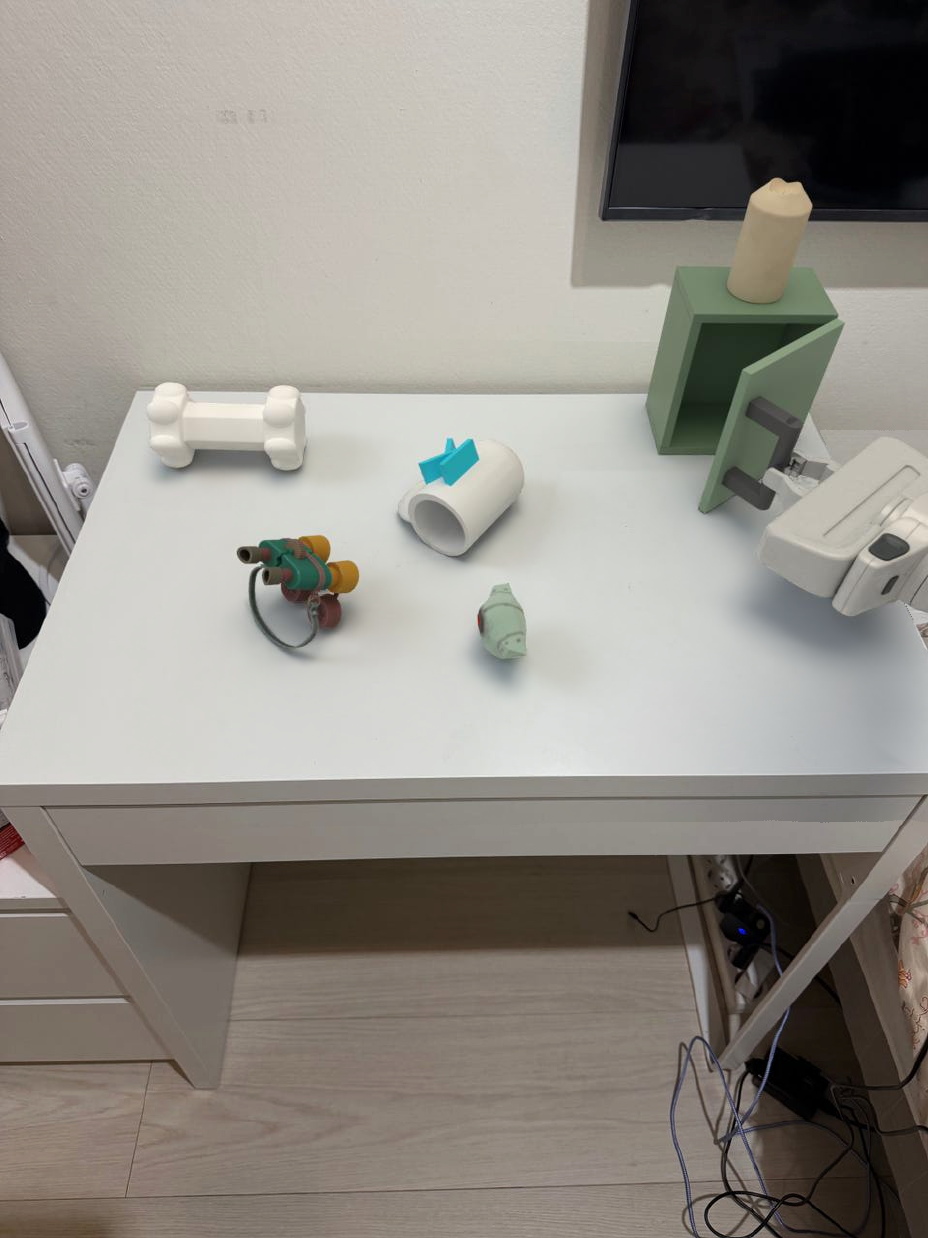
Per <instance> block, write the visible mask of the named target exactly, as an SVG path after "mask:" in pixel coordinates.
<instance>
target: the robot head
mask: <svg viewBox="0 0 928 1238" xmlns="http://www.w3.org/2000/svg"><path fill="white" fill-rule="evenodd" d="M476 616H477V618H476V619H477V627H478V631H479V635H480V638H481V639H480V640H481V641H482V643H483V645H484V648H485V649H486V650H487V651H488V652H489V653H490V654H491V655H492V656H494V657H495V658H497V659H498V660H499V659H500V660H508V659H515V658H519V657H524V656H528V653H527V645H526V641H527V620H526V616H525V612H524V609H523V607H522V606H521V604H520V603H519V602H518V599H516V597H515V595H514V594H513V590H512V588H511V586H510V583H509V582H507V583H501V584H496V585H493V586H492V588H491V591H490V593H489V597H488V598H487V599H486V601H485V602H484V603H483V604H482V605H481V606H480V607H479V610H478V612H477V615H476Z"/></svg>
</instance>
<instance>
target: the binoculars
mask: <svg viewBox="0 0 928 1238" xmlns="http://www.w3.org/2000/svg"><path fill="white" fill-rule="evenodd" d="M331 552H332V551H331V543H330V541H329V539H328V538H327V537H326V536H325V535H322V534H315V535H303V536H300V537H298V538H291V537H282V538H279V539H263V540H261V541H260V542H259V544H258V546H256V545H251V546H250V545H249V546H248V545H247V546H245V545H244V546H243V545H242V546H239V547H238V548H237V550H236V556H237V559H238V560H239V561H240V562H241V563H243V564H245V565H256V564H259V563H260V565H258V566H256V567H253V569H252V570H251V572H250V574H249V577H248V592H247V593H248V601H249V607H250V610H251V613H252V616H253V618H254V620H255V622H256V623H257V625H258V627H259V628H260V629H261V631H262V632H263V634H264V635H265V636H266V637H267V638H268V639H269V640H270V641H272V642H273V643H274V644H275V645H278V646H279V647H282V648H284V649H288V650H294V649H300V648H303V647H305V646H307V645H309V644H310V643H311V642H312V641H314V639H315V638H316V637H317V635H318V633H319V630H320V629H333V628H336V627H338V626H339V624H340V623H341V621H342V617H343V616H342V615H343V610H342V606H341V603H340V601H339V599H338V598H339V596H340V594H349V593H351V592H353V591H354V590H355V589H356V588H357V585H358V584H359V580H360V571H359V567H358V566H357V564H356V563H355V562H354V561H352V560H349V559H347V560H338V561H336V560H335V561H329V562H328V560H329V558H330V556H331ZM262 569H263V570H262ZM261 570H262V571H261ZM260 571H261V573H262V574H261V580H262V583H263V585H264V586H277V585H280V591H281V594H282V596H283V597H284V599H285V600H286V601H288V602H290V603H291V602H293V603H294V602H295V603H296V602H297V603H298V602H299V603H300V602H303V603H306V602H307V603H306V605H307V608H306V613H307V619H308V621H309V622H310V624H311V631H310V633H309V635H308V637H306V639H305V640H304V641H302V642H301V643H299V644H297V645H291V644H288V643H286V642H285V641H283V640H281V639H279V638H278V637H277V636H276V635H275V634H274V633H273V632H272V631H271V630H270V628H268V626H267V624H266V623H265V620H264V619H263V617H262V615H261V613H260V611H259V608H258V604H257V598H256V582H257V581H256V580H257V577H258V573H259V572H260ZM326 590H327V591H328V593H324V594H321V595H319V594H320V593H321V591H323V592H324V591H326ZM329 592H330V593H329Z"/></svg>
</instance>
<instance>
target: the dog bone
mask: <svg viewBox="0 0 928 1238" xmlns="http://www.w3.org/2000/svg"><path fill="white" fill-rule="evenodd" d="M188 392H189V391H188V389H187V388H186V387H185V385H183V384H181V383H179V382H174V381H173V382H172V381H170V382H169V381H167V382H163V383H160V384H158V385H157V386H156V387H155V389H154V392H153V396H152V399H151V402H149V404H147V406H146V412H145V413H146V417H147V421H148V429H149V439H150V440H149V444H148V446H149V448H150V449H151V451H153V452H154V453H156V454H157V455H158V456H159V457H160V461H161V463H162V464H163V465H164V466H166V467H170V468H174V469H175V468H176V469H177V468H179V469H180V468H184V467H187V466H189V465H190V464H191V463H192V462H193V459H194V455H195V453H196V451H197V450H217V451H219V450H220V451H256V452H257V451H258V452H259V451H260V452H263V451H264V452H265V453H266V454H267V455H268V458H269V460H270V463H271V465H272V466H273V467H274V468H276V469H277V470H280V471H293V470H294V471H295V470H296V469H298V468H300V467H301V466H302V464H303V462H304V452H305V448H306V446H307V444H308V438H307V434H306V413H307V408H306V406H305V405H304V404H303V401H302V398H301V393H300V391H299V390H298V389H297V388H296V387H295V386H291V385H286V384H285V385H284V384H282V385H275V386H273V387H272V388H271V389H270V390H268V392H267V397H266V401H265V403H230V402H229V403H227V402H195V401H194V400H193V399H192V397H191V396H190V394H189V393H188Z"/></svg>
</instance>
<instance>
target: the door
mask: <svg viewBox="0 0 928 1238" xmlns="http://www.w3.org/2000/svg"><path fill="white" fill-rule="evenodd" d="M845 324H846V322H844V321H843V320H841V319H839V318H836V319H835V320H833V321H831V322H829V323H827V324H825V325H824V326H822V327H820V328H818V329H816V330H814V331H812V332H811V333H809V334H807V335H805V336H803V337H801V338H800V339H798V340H796V341H794V342H792V343H790V344H789V345H787V346H785V347H783V348H781V349H779V350H778V351H776V352H774V353H772V354H770V355H768V356H766V357H765V358H763V359H761V360H759V361H757V362H755V363H754V364H752V365H750V366H748V367H746V368H744V369H743V370H742V373H741V376H740V379H739V382H738V385H737V388H736V391H735V395H734V398H733V401H732V404H731V407H730V410H729V413H728V416H727V420H726V423H725V426H724V429H723V432H722V435H721V438H720V441H719V445H718V448H717V451H716V454H714V457H713V460H712V463H711V467H710V469H709V474H708V476H707V479H706V481H705V482H706V483H705V486H704V489H703V492H702V495H701V498H700V501H699V504H698V508H697V509H698V510H699V511H701V512H702V513H704V514H707V513H708V512H710V511H711V510H713V509H715V508H716V507H718V506H720V505H722V503H724V502H727V500H729V499H730V498H732V497H734V496H735V495H736V496H738V497H740V498H741V499H742V500H743V501H745V502H747V503H748V504H750V505H751V506H752V507H754V508H755V509H756V510H759V511H763V512H764V511H768V510H769V509H770V508H771V507H772V504H773V502H774V499H775V496H776V495H777V492H775V491H774V490H772V489H771V488H769V487H767V486H766V485H764V483H763V481H762V480H761V479H763V477H764V474H765V472H766V471H767V470H768V469H769V468H771V467H772V466H773V465H775V464H777V463H778V464H781V465H782V466H783V467H785V468H786V467H787V465H788V462H789V460H790V457H791V455H792V453H793V451H794V450H795V447H796V446H797V443H798V440H799V439H800V438H799V437H800V435H801V433H802V431H803V428H804V426H805V423H806V420H807V417H808V415H809V413H810V410H811V408H812V406H813V404H814V401H815V398H816V395H817V393H818V391H819V388H820V386H821V384H822V382H823V378H824V376H825V374H826V372H827V369H828V366H829V364H830V361H831V359H832V356H833V354H834V351H835V349H836V347H837V344H838V342H839V339H840V337H841V335H842V332H843V330H844V327H845ZM759 480H761V482H760V481H759Z"/></svg>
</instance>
